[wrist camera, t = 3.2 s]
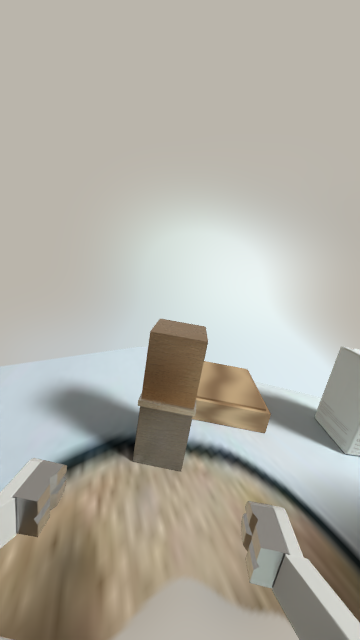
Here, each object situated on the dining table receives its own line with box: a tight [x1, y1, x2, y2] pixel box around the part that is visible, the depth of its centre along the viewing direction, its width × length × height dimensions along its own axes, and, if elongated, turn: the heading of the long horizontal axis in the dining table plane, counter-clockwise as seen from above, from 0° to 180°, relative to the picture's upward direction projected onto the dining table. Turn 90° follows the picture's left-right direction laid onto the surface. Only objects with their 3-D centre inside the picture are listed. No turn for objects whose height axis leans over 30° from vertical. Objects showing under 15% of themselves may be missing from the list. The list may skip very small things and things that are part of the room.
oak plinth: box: [192, 361, 271, 433], centre depth 35 cm, size 13×13×3 cm
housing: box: [133, 319, 208, 471], centre depth 22 cm, size 5×5×14 cm
